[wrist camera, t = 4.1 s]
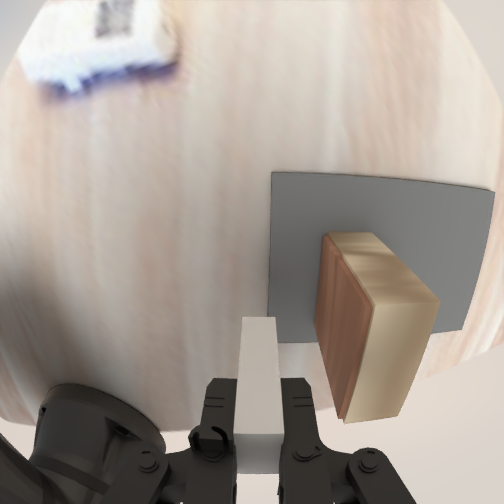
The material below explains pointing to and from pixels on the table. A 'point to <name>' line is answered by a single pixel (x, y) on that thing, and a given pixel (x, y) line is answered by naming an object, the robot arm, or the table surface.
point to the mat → (385, 229)
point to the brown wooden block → (370, 325)
